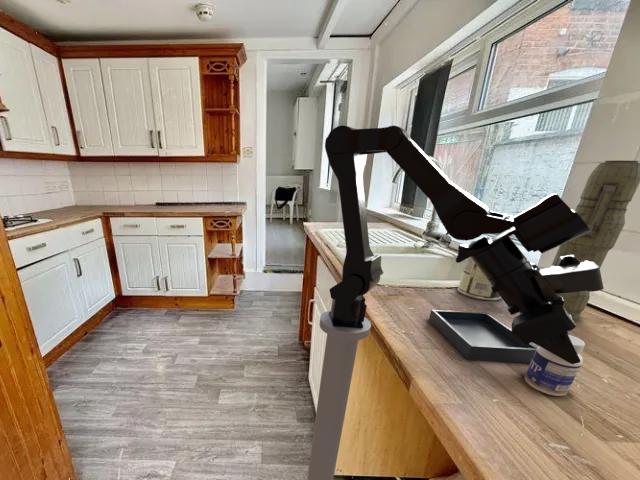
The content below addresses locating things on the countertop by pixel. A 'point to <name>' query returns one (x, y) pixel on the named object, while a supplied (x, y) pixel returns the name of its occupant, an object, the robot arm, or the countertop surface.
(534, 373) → the pill bottle
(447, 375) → the countertop surface
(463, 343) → the tray
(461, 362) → the countertop surface
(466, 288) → the coffee can
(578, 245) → the stone statue
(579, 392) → the countertop surface
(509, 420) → the countertop surface
